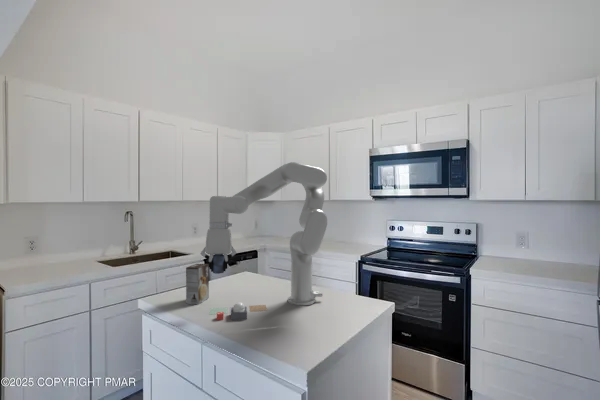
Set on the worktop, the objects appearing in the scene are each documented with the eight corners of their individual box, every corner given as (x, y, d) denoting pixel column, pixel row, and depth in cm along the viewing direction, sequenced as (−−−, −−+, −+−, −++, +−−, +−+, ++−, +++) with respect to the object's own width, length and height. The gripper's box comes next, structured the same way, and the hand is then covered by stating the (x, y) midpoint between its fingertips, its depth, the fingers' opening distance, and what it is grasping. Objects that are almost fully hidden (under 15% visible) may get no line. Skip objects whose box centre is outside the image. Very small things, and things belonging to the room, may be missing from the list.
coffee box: (196, 297, 143) (196, 263, 143) (209, 298, 142) (209, 263, 142) (185, 303, 134) (185, 267, 134) (198, 304, 133) (199, 267, 133)
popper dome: (244, 313, 121) (244, 300, 121) (244, 317, 116) (244, 304, 116) (233, 314, 120) (233, 301, 120) (233, 318, 115) (233, 304, 115)
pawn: (224, 270, 127) (224, 248, 127) (223, 273, 122) (224, 250, 122) (213, 271, 126) (213, 249, 126) (212, 273, 121) (212, 250, 122)
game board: (265, 305, 132) (265, 298, 132) (269, 318, 117) (269, 310, 117) (210, 309, 127) (210, 302, 127) (207, 323, 113) (207, 314, 113)
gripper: (239, 225, 130) (239, 268, 130) (198, 225, 126) (197, 269, 126) (240, 226, 122) (239, 272, 122) (196, 227, 119) (195, 273, 119)
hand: (218, 270), depth 124 cm, fingers closed on pawn, 4 cm apart
